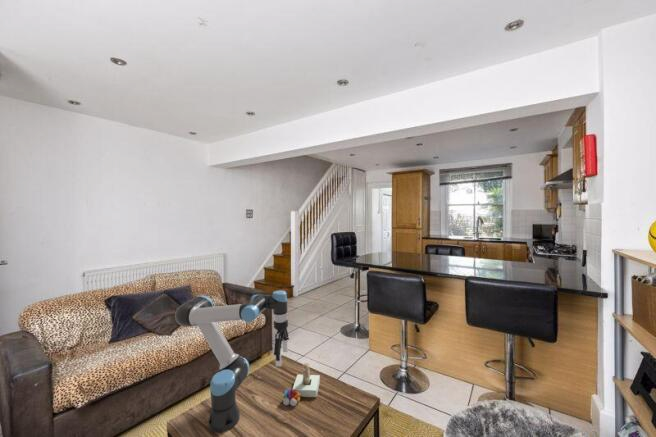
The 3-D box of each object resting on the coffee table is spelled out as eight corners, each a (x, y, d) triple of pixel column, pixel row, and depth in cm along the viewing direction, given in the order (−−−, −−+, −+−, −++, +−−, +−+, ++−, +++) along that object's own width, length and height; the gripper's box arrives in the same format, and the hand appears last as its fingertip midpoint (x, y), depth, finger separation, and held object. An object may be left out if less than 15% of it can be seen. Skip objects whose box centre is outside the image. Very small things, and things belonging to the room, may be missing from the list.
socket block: (292, 396, 158) (292, 389, 158) (297, 380, 172) (297, 374, 171) (316, 397, 156) (316, 390, 156) (319, 381, 170) (319, 375, 170)
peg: (302, 389, 162) (302, 366, 162) (304, 385, 166) (303, 362, 166) (309, 390, 162) (308, 367, 161) (310, 385, 166) (309, 363, 165)
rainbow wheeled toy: (297, 408, 148) (297, 395, 148) (280, 406, 150) (280, 393, 150) (302, 397, 157) (301, 385, 156) (286, 395, 159) (285, 383, 158)
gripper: (281, 330, 135) (282, 372, 136) (292, 311, 160) (294, 346, 161) (266, 330, 136) (268, 372, 137) (280, 311, 161) (281, 346, 162)
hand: (282, 358), depth 149 cm, fingers open, 13 cm apart
